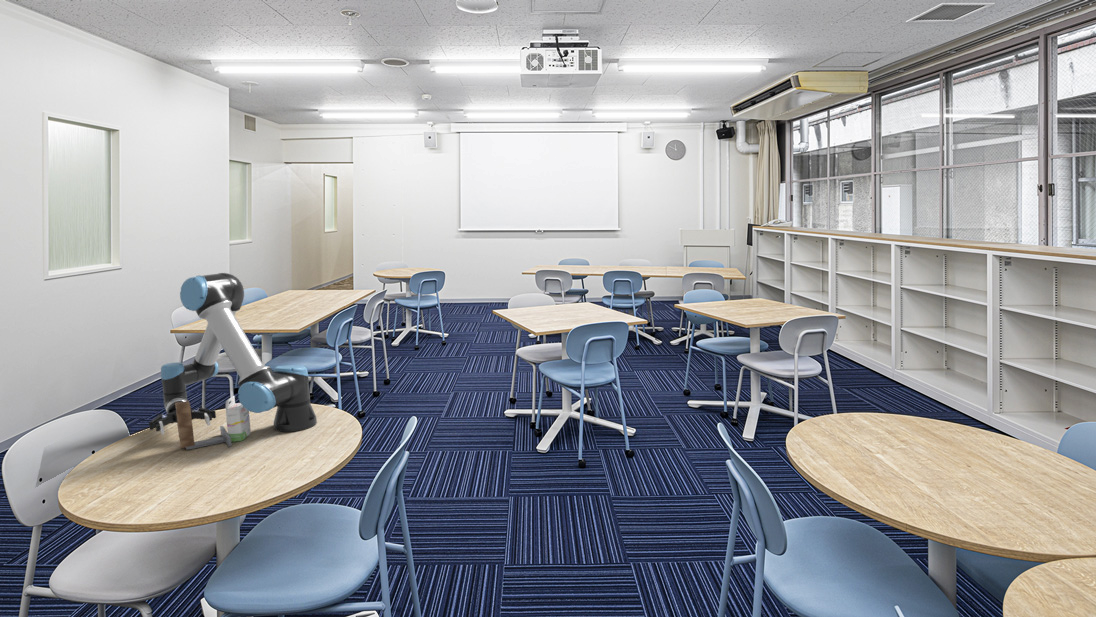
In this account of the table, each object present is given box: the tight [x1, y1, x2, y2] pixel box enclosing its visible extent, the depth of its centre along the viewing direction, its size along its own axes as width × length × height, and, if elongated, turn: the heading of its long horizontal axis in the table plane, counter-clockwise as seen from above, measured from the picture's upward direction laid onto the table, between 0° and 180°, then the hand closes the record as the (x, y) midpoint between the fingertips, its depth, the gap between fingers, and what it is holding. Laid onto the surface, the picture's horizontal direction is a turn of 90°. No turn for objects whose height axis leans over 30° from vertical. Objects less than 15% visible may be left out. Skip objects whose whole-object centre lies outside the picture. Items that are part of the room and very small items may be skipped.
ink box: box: [225, 395, 252, 442], centre depth 224 cm, size 9×5×15 cm, turn 6°
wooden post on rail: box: [175, 400, 233, 451], centre depth 217 cm, size 14×16×16 cm
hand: (185, 425), depth 211 cm, fingers open, 13 cm apart
